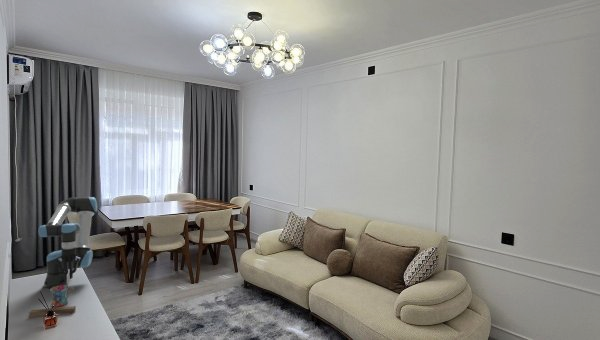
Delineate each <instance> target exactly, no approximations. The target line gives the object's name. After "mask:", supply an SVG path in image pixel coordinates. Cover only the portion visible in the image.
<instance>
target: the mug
mask: <svg viewBox="0 0 600 340" xmlns="http://www.w3.org/2000/svg"><path fill="white" fill-rule="evenodd" d="M69 290H71V287H70V286H69V284H68V285H59V286H55V287H53V288H49V291H50V292H51V296H52V302H51V305H50V306H51V307H53V306H52V305H54V307H53V308H58V307H64V306H65V305H67V304H68V303H69V300H68V299H69V297H70V296H72V294H73V293H74V291H75V288H74V287H72V292H71V293H70V294H68V295H67V292H68V291H69Z"/></svg>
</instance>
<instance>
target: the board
mask: <svg viewBox="0 0 600 340" xmlns="http://www.w3.org/2000/svg"><path fill="white" fill-rule="evenodd" d="M52 308H53V311H54V312H55V313H56V314H61V315H71V314H74V313H76V309H77V308H76V305H72V306H59V307H48V308H41V309H40V308H37V309H31V310H30V311H29V312H28V314H29V315H28V316H29V318H36V317H37V318H38V317H39V318H40V317H46V316H45V315H46V314H47V312H48V311H51V310H52Z"/></svg>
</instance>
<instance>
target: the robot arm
mask: <svg viewBox="0 0 600 340" xmlns="http://www.w3.org/2000/svg"><path fill="white" fill-rule="evenodd" d="M98 208H99V207H98V202H97V198H96V197H94V196H93V197H92V196H84V197H83V196H80V197H79V196H77V197H73V196H72V197H69V198H66V199H64V200H63V201H61V202H60V203H59V204H58V205H57V206H56V208H55V212H54V213H53V214H52V217H50V219H49V220H48V222H47V223H46V224H43V225H40V226H39V227H38V236H39V237H41V238H48V237H49V238H50V237H61V249H60V250H56V251H55V250H54V251H52V252H49V254H47V256H46V277H45V280H44V282H43V287H44V288H46V289H51V288H53V287H55V286H59V285H68V286H69V285H71V284H72V279H73V278H74V275H73V274H74V273H76V272H77V269H83V268H88V267H89V266H90V265H91V264H92V261H93V257H94V256H93V255H94V254H93V253H94V251H93V250H92V249H91V247H90V246H89V245H90V243H89V242H90V236H91V227H92V217H93V216H94V215H95V214H96V213H97V212H98V210H99V209H98ZM71 213H76V215H77V216H78V219H77V222H73V223H70V222H69V223H63V222H64V221H65V219H66V218H67V216H68V215H70V214H71Z"/></svg>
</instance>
